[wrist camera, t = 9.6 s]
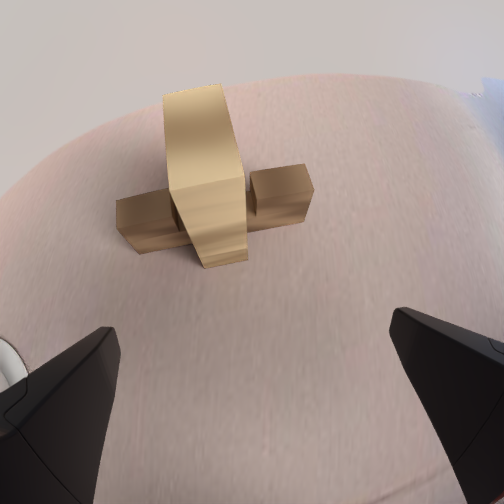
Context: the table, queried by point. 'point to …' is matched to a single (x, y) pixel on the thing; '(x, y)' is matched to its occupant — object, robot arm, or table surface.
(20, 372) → the teacup
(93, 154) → the table surface
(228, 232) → the tall wooden block
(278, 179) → the lower notched wooden block
